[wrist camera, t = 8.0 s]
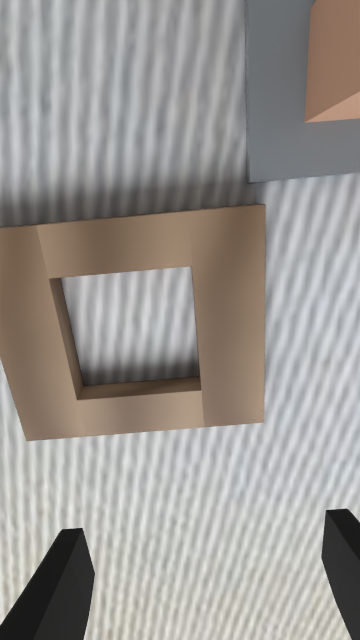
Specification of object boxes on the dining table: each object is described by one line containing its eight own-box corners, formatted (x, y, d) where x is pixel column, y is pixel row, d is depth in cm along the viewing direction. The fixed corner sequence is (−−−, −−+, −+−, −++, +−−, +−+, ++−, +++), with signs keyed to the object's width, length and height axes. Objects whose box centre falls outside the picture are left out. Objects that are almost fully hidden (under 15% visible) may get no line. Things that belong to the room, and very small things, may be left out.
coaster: (479, -93, 13) (493, -107, 12) (435, 165, 16) (444, 164, 15) (244, -68, 13) (247, -80, 12) (247, 183, 16) (249, 182, 15)
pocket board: (257, 203, 16) (265, 204, 15) (258, 407, 21) (264, 422, 19) (-21, 229, 17) (-39, 232, 15) (36, 424, 21) (26, 441, 19)
